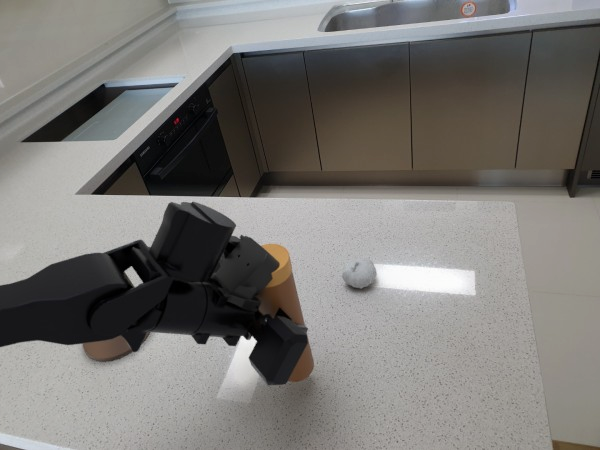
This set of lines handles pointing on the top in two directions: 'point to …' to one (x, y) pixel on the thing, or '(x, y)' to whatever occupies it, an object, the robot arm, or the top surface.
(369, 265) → the garlic
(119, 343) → the round brown plate
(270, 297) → the orange cylinder
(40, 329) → the robot arm
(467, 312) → the top surface
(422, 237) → the top surface
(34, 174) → the top surface
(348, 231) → the top surface
